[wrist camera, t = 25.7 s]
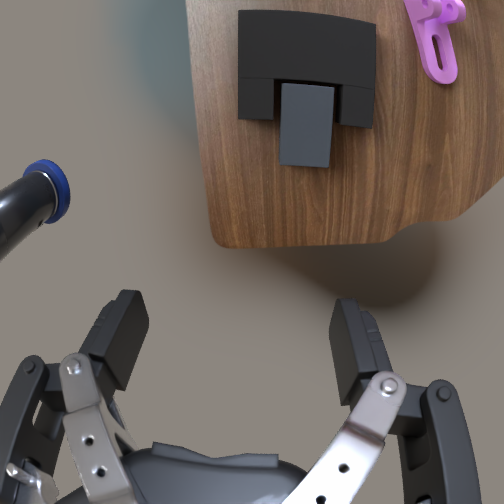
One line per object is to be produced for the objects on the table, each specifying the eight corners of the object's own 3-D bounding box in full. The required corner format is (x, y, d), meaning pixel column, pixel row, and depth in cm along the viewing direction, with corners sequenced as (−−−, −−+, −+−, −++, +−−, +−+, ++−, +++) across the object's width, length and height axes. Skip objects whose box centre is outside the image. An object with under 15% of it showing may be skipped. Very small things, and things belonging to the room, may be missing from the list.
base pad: (240, 117, 32) (238, 119, 30) (240, 16, 25) (238, 9, 22) (364, 125, 32) (372, 128, 29) (367, 28, 24) (375, 23, 22)
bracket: (403, 0, 21) (427, -12, 15) (434, 4, 20) (460, -5, 14) (426, 83, 27) (454, 85, 21) (455, 83, 26) (484, 87, 20)
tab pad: (278, 159, 35) (279, 165, 33) (280, 84, 30) (282, 83, 27) (324, 162, 35) (328, 167, 32) (328, 88, 30) (334, 87, 27)
